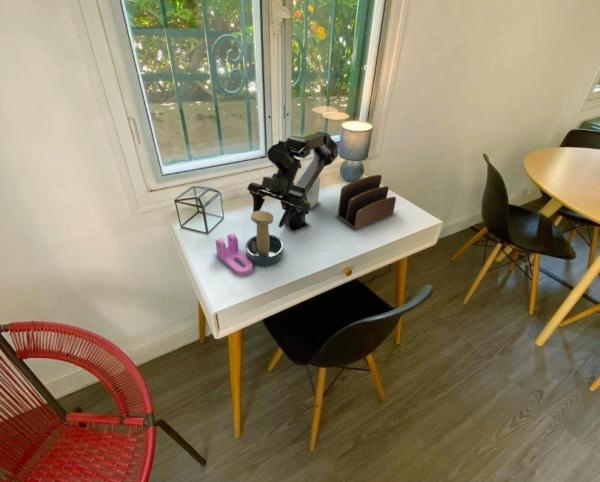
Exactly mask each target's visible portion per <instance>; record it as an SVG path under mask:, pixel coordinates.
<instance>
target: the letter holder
mask: <svg viewBox="0 0 600 482" xmlns="http://www.w3.org/2000/svg"><path fill="white" fill-rule="evenodd" d="M382 178H383V177H382V174H375V175H369V176H365V177H363V178H360V179H357V180H354V181H352V182H350V183H347V184H345V185H344V186H342V188H341V189H340V194H339V195H340V196H339V202H338V210H337V218H338V219H340V220H341V221H342V222H344V223H345V224H346V225H348V226H349V227H350V228H352V229H353V230H354V231H355V230H357V229H360V228H363V227H365V226H368V225H371V224H372V223H375V222H377V221H381V220H382V219H385V218H387V217H389V216H392V215H394V211H395V207H396V206H395V205H396V202H397V197H396V196H390V197H388V193H389V188H390V187H389V186H386V185H385V186H381V183H382Z"/></svg>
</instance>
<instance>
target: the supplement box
mask: <svg viewBox="0 0 600 482" xmlns="http://www.w3.org/2000/svg"><path fill="white" fill-rule="evenodd" d="M320 185H321V177H319V176H318V178H317V179H316V181H315V182H314V184H313V185H312V187H311V188H310V190H309V192H308V193H307V201H308V203H309V204H310V210H312V209H314V208H315V207H316V206H317V205H318V204H319V197H320Z"/></svg>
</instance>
